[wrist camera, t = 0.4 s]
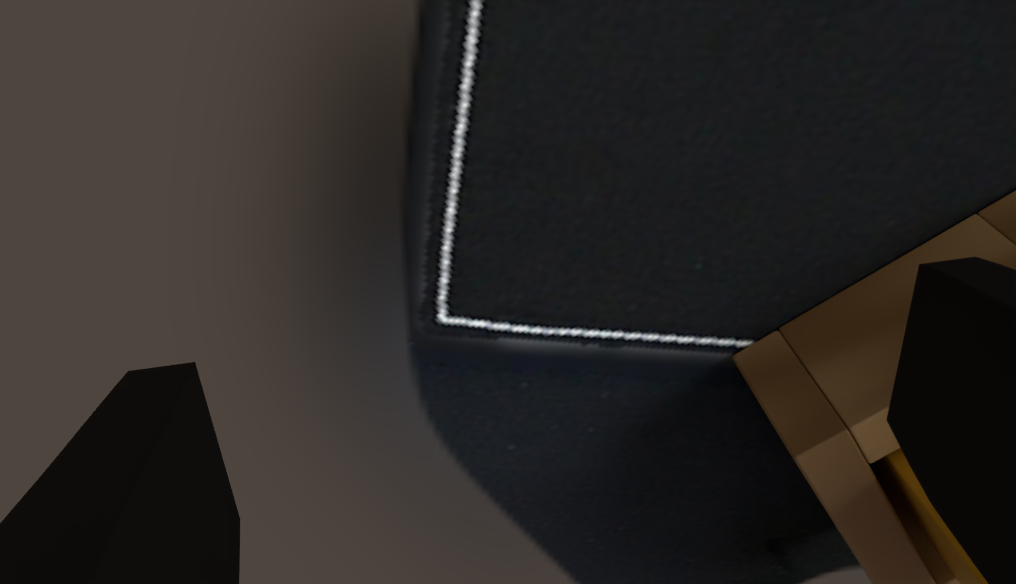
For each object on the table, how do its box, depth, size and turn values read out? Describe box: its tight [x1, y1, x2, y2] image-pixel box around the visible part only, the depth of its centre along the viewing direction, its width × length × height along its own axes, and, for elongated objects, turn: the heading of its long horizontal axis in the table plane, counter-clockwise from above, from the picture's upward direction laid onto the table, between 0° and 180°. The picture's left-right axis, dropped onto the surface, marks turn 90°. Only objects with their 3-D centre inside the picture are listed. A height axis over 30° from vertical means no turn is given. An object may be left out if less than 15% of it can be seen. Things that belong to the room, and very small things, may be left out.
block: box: [874, 448, 988, 584], centre depth 20 cm, size 4×4×7 cm
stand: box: [733, 190, 1016, 584], centre depth 21 cm, size 7×7×4 cm
